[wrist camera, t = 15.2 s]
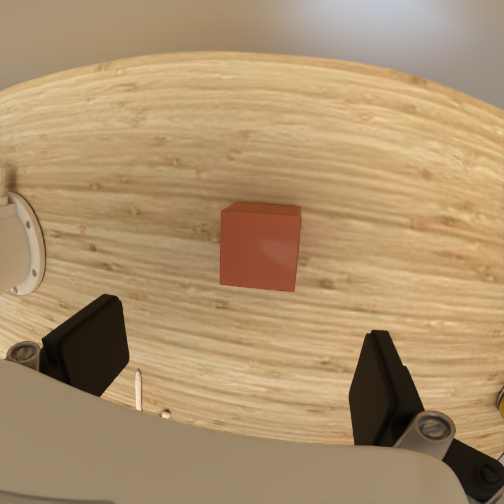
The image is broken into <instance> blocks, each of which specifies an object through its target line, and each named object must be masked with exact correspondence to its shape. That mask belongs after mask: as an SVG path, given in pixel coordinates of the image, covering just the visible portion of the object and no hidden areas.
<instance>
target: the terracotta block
mask: <svg viewBox="0 0 504 504" xmlns="http://www.w3.org/2000/svg"><path fill="white" fill-rule="evenodd" d="M300 228H301V209H300V207H299V206H287V205H274V204H261V203H246V202H236V203H234V204H232V205H231V206H229V207H227V208H226V209H224V210H222V212H221V244H220V285H229V286H238V287H248V288H258V289H268V290H279V291H290V292H294V290H295V281H296V271H297V261H298V250H299V239H300Z"/></svg>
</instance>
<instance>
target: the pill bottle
mask: <svg viewBox="0 0 504 504" xmlns="http://www.w3.org/2000/svg"><path fill="white" fill-rule="evenodd" d="M497 408H498V411H499V412H500V414H501V416H502V417H503V419H504V389H503V390H502V392H501V393H500V395H499V398H498V401H497Z"/></svg>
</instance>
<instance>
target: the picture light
mask: <svg viewBox="0 0 504 504" xmlns="http://www.w3.org/2000/svg"><path fill="white" fill-rule="evenodd" d="M135 388H136V410H139V411H142V407H141V375H140V373H139V371H137V372H136V375H135ZM161 417H163V418H166V419H170V413H167V412H163V414H162V416H161Z"/></svg>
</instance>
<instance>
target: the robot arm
mask: <svg viewBox="0 0 504 504" xmlns="http://www.w3.org/2000/svg"><path fill="white" fill-rule="evenodd" d="M44 269H45V250H44V243H43V237H42V233H41V230H40V226H39V224H38V221H37V219H36V216H35V215H34V213H33V211H32V209H31V207H30V206H29V205H28V203H27V202H26V201H25V200H24V199H23V198H22V197H21V196H19V195H17V194H16V193H12V192H8V193H5V168H0V294H2V293H4V292H6V291H8V290H9V291H11V292H13V293H14V294H17V295H27V294H29V293H31V292H33V291H34V290H35V289H37V287H38V286H39V285H40V283H41V280H42V278H43V274H44ZM42 343H43V346H44V347H43V348H41V349H40V346H39V345H38V344H37V343H35V342H31V341H24V342H20V343H17V344H15V345H13V346H12V347H11V348H10V349H9V350H8V352H7V355H6V359H4V360H1V359H0V504H504V466H503V465H502V464H501V463H500V462H499V461H497V460H496V459H494V458H492V457H490V456H488V455H486V454H484V453H482V452H480V451H478V450H476V449H474V448H472V447H470V446H468V445H466V444H464V443H462V442H460V441H458V440H456V439H455V438H454V436H455V432H456V428H455V424H454V422H453V421H452V420H451V419H450V418H449V417H448V416H447V415H445V414H443V413H441V412H438V411H432V410H429V411H425V409H424V407H423V404H422V402H421V399H420V397H419V394H418V392H417V390H416V387H415V385H414V382H413V380H412V378H411V375H410V373H409V371H408V369H407V367H406V366H403V364H402V362H401V359H400V357H399V355H398V353H397V350H396V348H395V346H394V343H393V341H392V339H391V337H390V335H389V332H388V331H384V330H372V331H371V333H370V334H369V333H367V334H366V336H365V339H364V343H363V346H362V350H361V354H360V357H359V361H358V364H357V368H356V371H355V374H354V378H353V381H352V384H351V387H350V391H349V404H350V412H351V420H352V427H353V436H354V445H338V444H320V443H305V442H294V441H284V440H275V439H267V438H260V437H253V436H246V435H240V434H234V433H229V432H223V431H218V430H213V429H208V428H204V427H199V426H195V425H190V424H186V423H182V422H178V421H174V420H170V419H166V418H163V417H159V416H155V415H152V414H149V413H145V412H142V411H139V410H135V409H132V408H129V407H126V406H123V405H120V404H117V403H114V402H111V401H108V400H105V399H103V398H100V396H101V395H102V394H103V393H104V391H105V390H106V389H107V388H108V387H109V385H110V384H111V383H112V382H113V381H114V379H115V378H116V377H117V376H118V375H119V373H120V372H121V371H122V370H123V369H124V368H125V366H126V365H127V364H128V362H129V350H128V343H127V337H126V330H125V323H124V315H123V307H122V302H121V301H120V300H119V298H118V297H117V296H114V295H109V294H103V295H101V296H100V297H98V298H97V299H96V300H94V301H93V302H91V303H90V304H89V305H87V306H86V307H84V308H83V309H82V310H80V311H79V312H77V313H76V314H75V315H73V316H72V317H71V318H69V319H68V320H66V321H65V322H64V323H62V324H61V325H60V326H58V327H57V328H56V329H54V330H53V331H52V332H50V333H49V334H48V335H46V336H45V337H44V338H42Z"/></svg>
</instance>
